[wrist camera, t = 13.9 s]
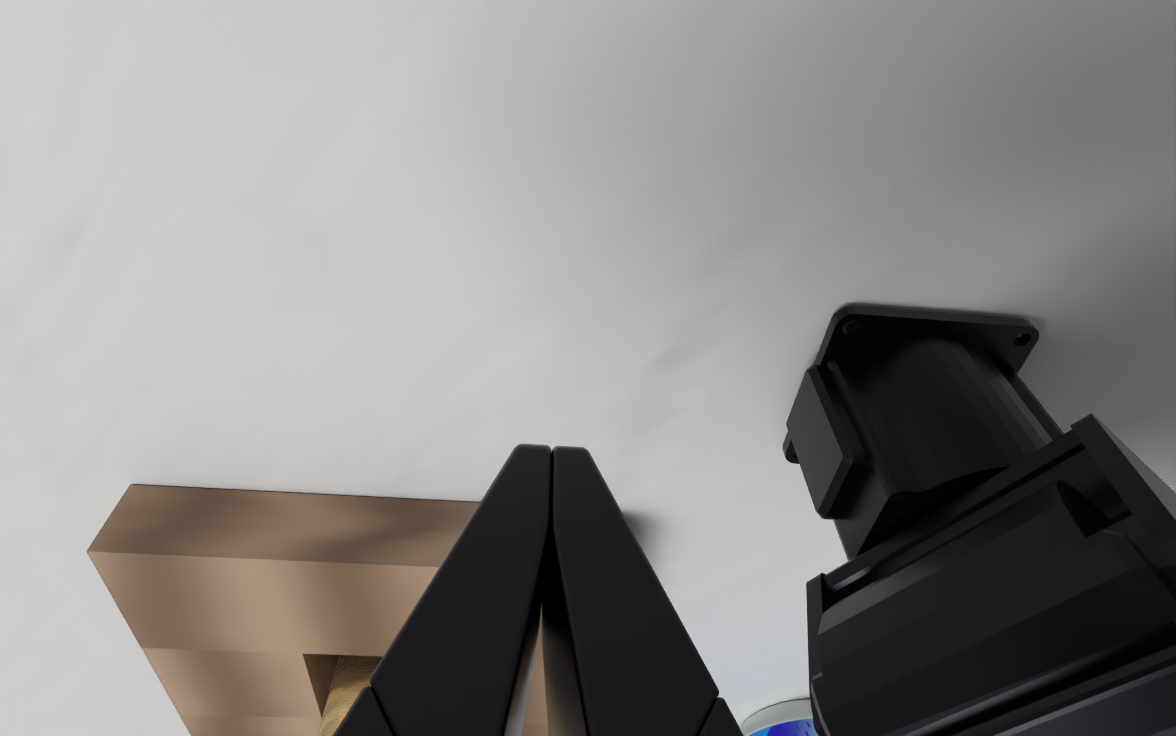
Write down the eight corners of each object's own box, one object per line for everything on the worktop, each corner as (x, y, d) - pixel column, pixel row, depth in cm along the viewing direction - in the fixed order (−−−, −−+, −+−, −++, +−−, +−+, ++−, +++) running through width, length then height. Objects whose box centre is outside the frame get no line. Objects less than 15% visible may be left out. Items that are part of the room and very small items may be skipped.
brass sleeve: (436, 601, 31) (401, 800, 25) (439, 648, 34) (408, 840, 27) (344, 598, 31) (286, 798, 25) (354, 645, 33) (304, 838, 27)
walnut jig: (609, 509, 27) (612, 574, 25) (570, 721, 39) (571, 780, 36) (130, 484, 26) (86, 551, 24) (234, 711, 37) (212, 772, 35)
